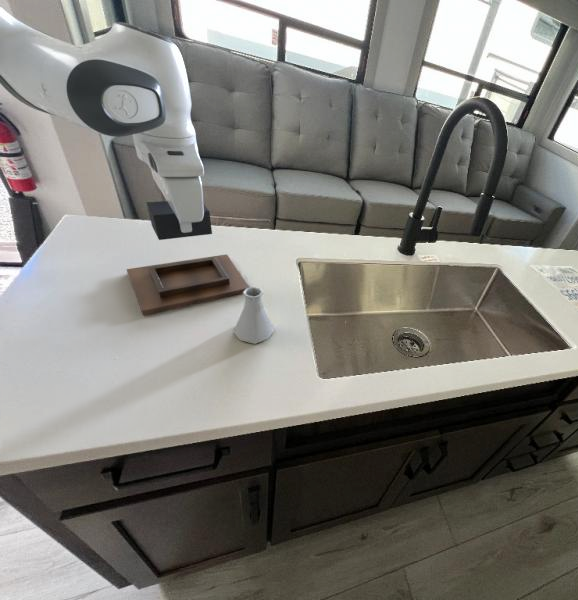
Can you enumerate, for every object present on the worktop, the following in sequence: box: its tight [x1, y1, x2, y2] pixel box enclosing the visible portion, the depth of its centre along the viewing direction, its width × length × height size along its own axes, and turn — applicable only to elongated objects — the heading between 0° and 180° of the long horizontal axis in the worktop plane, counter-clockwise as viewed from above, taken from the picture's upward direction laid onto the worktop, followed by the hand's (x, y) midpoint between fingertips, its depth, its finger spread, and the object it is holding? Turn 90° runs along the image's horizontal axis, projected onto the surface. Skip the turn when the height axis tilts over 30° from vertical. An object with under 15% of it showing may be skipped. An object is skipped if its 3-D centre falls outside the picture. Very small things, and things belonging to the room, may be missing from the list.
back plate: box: [126, 253, 251, 316], centre depth 72 cm, size 20×15×3 cm
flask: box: [232, 286, 276, 345], centre depth 63 cm, size 7×7×10 cm
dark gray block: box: [146, 200, 213, 241], centre depth 63 cm, size 9×6×5 cm, turn 130°
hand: (181, 222), depth 64 cm, fingers closed on dark gray block, 5 cm apart
